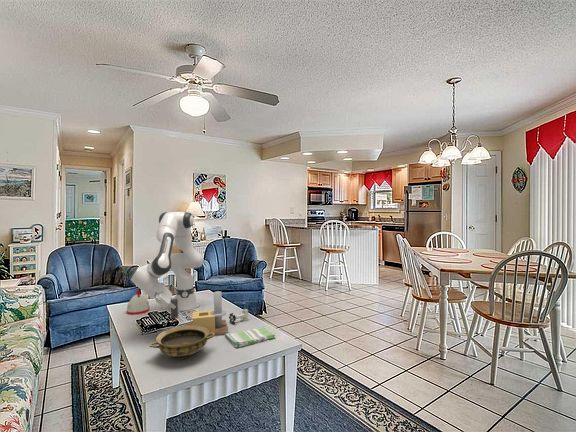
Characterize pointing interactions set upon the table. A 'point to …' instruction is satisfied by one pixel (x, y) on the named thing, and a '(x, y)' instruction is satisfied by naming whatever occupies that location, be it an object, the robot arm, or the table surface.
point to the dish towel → (249, 337)
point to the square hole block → (210, 315)
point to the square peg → (175, 311)
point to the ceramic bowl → (182, 340)
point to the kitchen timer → (137, 304)
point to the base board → (216, 329)
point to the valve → (239, 316)
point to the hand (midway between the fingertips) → (175, 306)
